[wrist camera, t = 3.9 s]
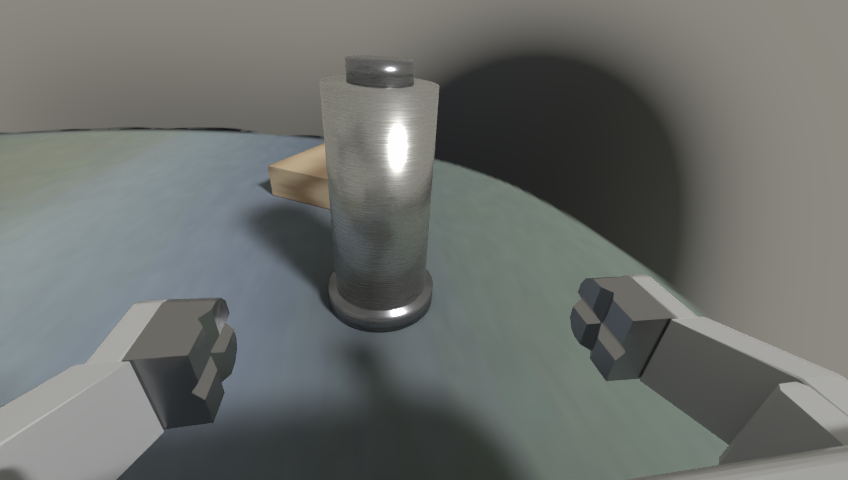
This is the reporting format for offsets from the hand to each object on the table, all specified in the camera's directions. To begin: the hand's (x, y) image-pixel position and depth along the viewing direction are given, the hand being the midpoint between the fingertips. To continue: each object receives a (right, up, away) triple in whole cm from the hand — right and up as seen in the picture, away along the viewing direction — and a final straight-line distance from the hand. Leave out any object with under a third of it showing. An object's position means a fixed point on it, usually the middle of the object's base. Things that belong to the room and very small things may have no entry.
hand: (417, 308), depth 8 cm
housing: (-3, -2, +15) cm, 16 cm away
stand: (-8, +7, +30) cm, 32 cm away
